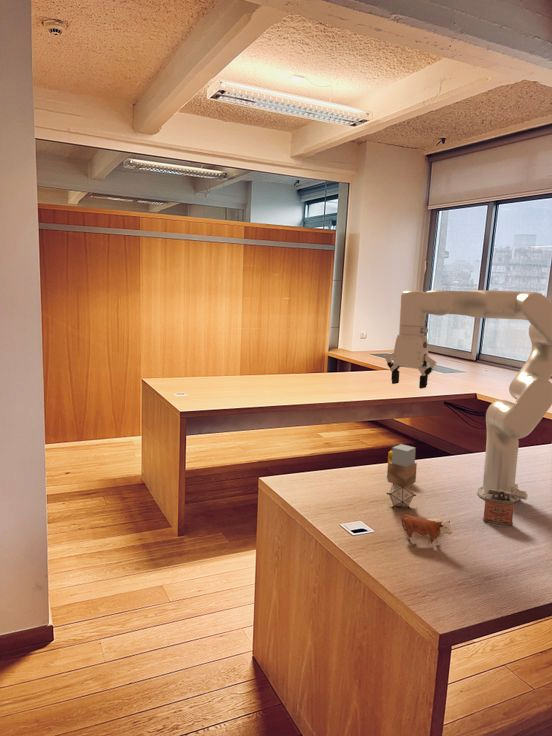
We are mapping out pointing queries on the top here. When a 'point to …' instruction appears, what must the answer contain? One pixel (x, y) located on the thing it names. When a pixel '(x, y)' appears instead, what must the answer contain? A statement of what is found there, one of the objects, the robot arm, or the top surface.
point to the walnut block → (402, 474)
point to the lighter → (499, 508)
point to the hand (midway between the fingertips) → (408, 385)
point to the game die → (401, 495)
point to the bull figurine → (425, 528)
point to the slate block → (403, 455)
